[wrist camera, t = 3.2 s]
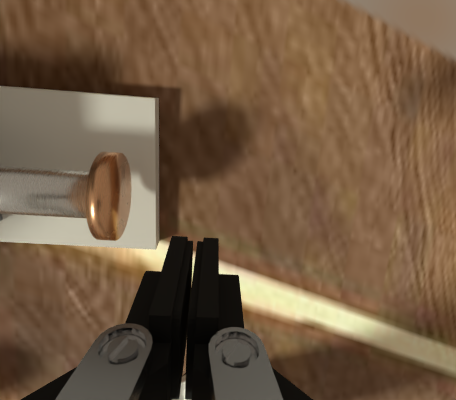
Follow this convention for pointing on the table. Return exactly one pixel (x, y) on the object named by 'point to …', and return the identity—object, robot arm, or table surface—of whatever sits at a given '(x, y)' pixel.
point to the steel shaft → (73, 193)
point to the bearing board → (81, 157)
